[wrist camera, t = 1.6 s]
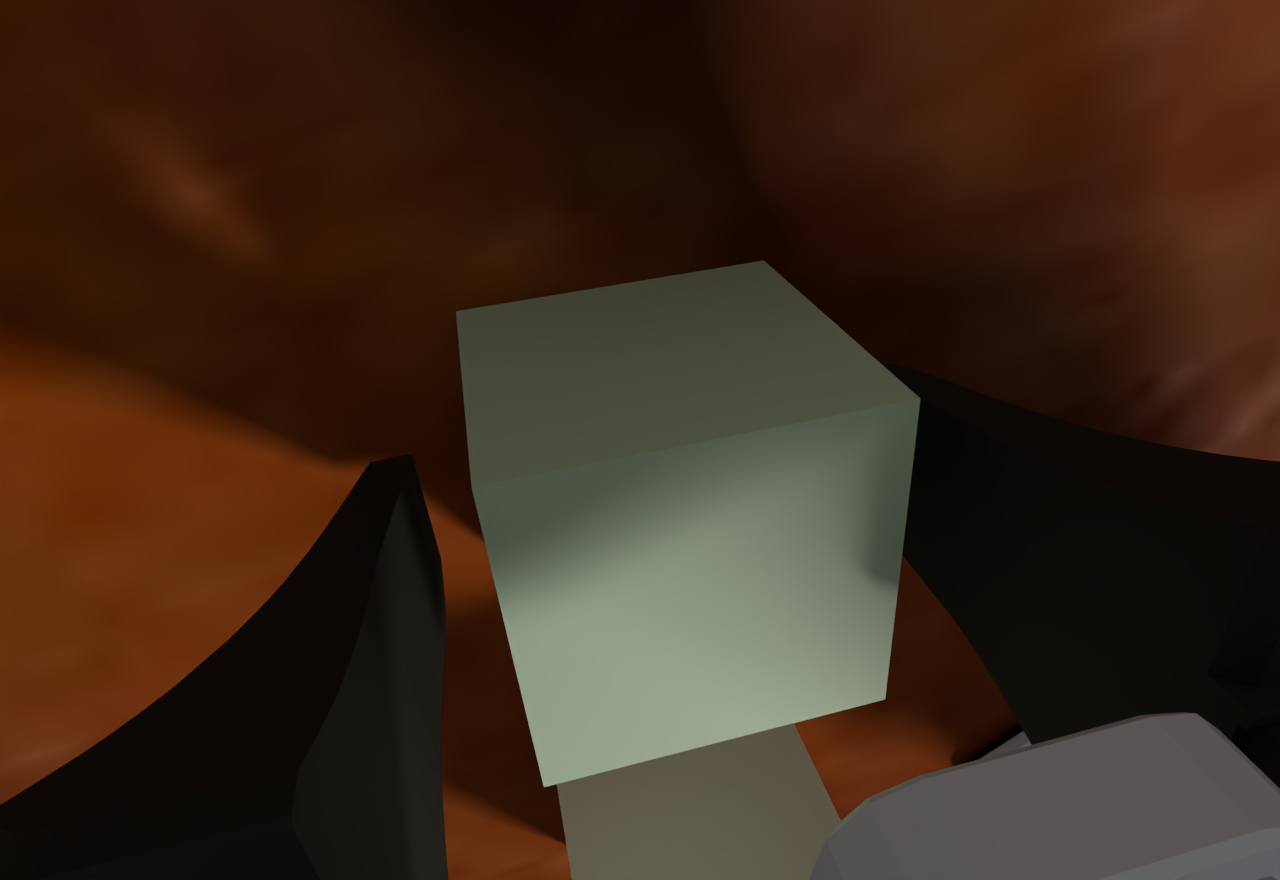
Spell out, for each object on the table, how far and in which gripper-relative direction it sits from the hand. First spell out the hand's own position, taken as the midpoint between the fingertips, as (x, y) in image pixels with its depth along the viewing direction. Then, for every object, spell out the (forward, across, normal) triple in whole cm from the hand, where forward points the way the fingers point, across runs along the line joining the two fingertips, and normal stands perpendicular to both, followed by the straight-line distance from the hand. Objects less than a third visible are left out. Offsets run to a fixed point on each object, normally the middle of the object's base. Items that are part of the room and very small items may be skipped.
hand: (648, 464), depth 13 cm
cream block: (+2, 0, +9) cm, 10 cm away
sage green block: (+2, 0, 0) cm, 2 cm away
